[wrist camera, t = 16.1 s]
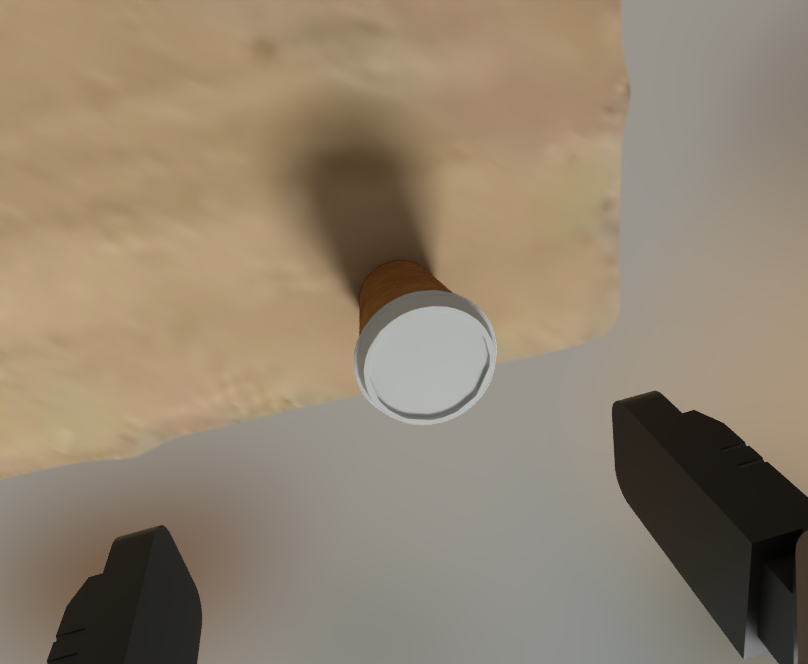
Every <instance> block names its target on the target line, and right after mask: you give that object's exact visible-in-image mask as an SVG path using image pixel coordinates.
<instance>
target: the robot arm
mask: <svg viewBox="0 0 808 664" xmlns="http://www.w3.org/2000/svg"><path fill="white" fill-rule="evenodd" d="M612 422H613V440H614V458H615V471H616V476H617V480H618V483H619V486H620V489H621V491H622V494H623V496H624V497H625V499H626V501H627V503H628V504H629V505H630V507H631V508H632V510H633V511H634V512H635V514H636V515H637V516H638V518H639V519H640V520H641V522H642V523H643V524H644V526H645V527H646V528H647V530H648V531H649V532H650V534H651V535H652V537H653V538H654V539H655V541H656V542H657V543H658V545H659V546H660V547H661V549H662V550H663V551H664V553H665V554H666V555H667V557H668V558H669V559H670V561H671V562H672V563H673V565H674V566H675V568H676V569H677V570H678V572H679V573H680V574H681V576H682V577H683V578H684V580H685V581H686V582H687V584H688V585H689V586H690V588H691V589H692V591H693V592H694V593H695V595H696V596H697V597H698V599H699V600H700V601H701V603H702V604H703V605H704V607H705V608H706V609H707V611H708V612H709V613H710V615H711V616H712V617H713V619H714V620H715V621H716V623H717V624H718V626H719V627H720V628H721V630H722V631H723V632H724V634H725V635H726V636H727V638H728V639H729V640H730V642H731V643H732V644H733V646H734V647H735V649H736V650H737V651H738V652H739V654H740V655H741V657H742V658H743V659H747V658H750V657H753V656H756V655H760V654H763V653H766V652H770V653H771V654H772V655H773V657H774V658H775V659H776V660H777V662H778V663H779V664H808V497H807V496H806V495H805V494H803V493H802V492H801V491H800V490H799V489H798V488H797V487H795V486H794V485H793V484H792V483H791V482H790V481H789V480H788V479H786V478H785V477H784V476H783V475H782V474H781V473H780V472H778V471H777V470H776V469H775V468H774V467H773V466H771V465H770V464H769V463H768V462H764V461H763V458H762V457H761V456H760V455H759V454H758V453H757V452H756V451H755V450H754V449H752V448H751V447H750V446H746V444H745V442H744V441H743V440H742V439H741V438H740V437H739V436H737V435H736V434H735V433H734V432H733V431H732V430H731V429H730V428H728V427H727V426H726V425H725V424H724V423H722V422H720V421H718V420H715V419H713V418H711V417H709V416H706V415H704V414H702V413H700V412H698V411H695V410H692V411H689V412H685V413H681V412H680V411H679V410H678V409H677V408H676V407H675V406H674V405H673V404H672V403H671V402H670V401H669V400H668V399H667V398H666V397H664V396H663V395H662V394H661V393H660V392H658V391H652V392H648V393H645V394H641V395H637V396H634V397H630V398H626V399H623V400H619V401H616V402H615V403H614V404H613V407H612ZM201 628H202V609H201V603H200V597H199V594H198V590H197V588H196V585H195V583H194V581H193V579H192V577H191V575H190V573H189V571H188V569H187V567H186V565H185V563H184V561H183V559H182V556H181V554H180V552H179V550H178V548H177V546H176V544H175V542H174V540H173V538H172V536H171V534H170V532H169V531H168V530H167V528H166V527H165V526H163V525H160V526H156V527H153V528H149V529H146V530H142V531H138V532H134V533H131V534H127V535H124V536H120V537H117V538H116V539H115V540H114V542H113V544H112V547H111V550H110V553H109V556H108V559H107V562H106V565H105V569H104V572H103V574H99V575H95V576H92V577H89V578H88V579H87V580H86V582H85V583H84V584H83V586H82V587H81V588H80V589H79V591H78V592H77V593H76V595H75V596H74V597H73V599H72V600H71V601H70V603H69V604H68V605H67V607H66V610H65V612H64V615H63V618H62V621H61V624H60V626H59V629H58V632H57V635H56V638H57V641H56V642H54V643H53V645H52V649H51V651H50V654H49V656H48V659H47V663H48V664H197V660H198V652H199V643H200V636H201Z"/></svg>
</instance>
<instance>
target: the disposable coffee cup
mask: <svg viewBox="0 0 808 664" xmlns="http://www.w3.org/2000/svg"><path fill="white" fill-rule="evenodd" d="M359 329H360V331H359V339H358V341H357V344H356V348H355V353H354V372H355V376H356V380H357V383H358V385H359V387H360V390H361V392H362V393H363V394H364V396H365V397H366V398H367V400H368V401H369V402H370V403H371V404H372V405H374V406H375V407H376V408H377V409H379V410H380V411H382V412H384V413H385V414H387V415H388V416H390V417H391V418H393V419H396V420H399V421H401V422H404V423H407V424H417V425H429V424H435V423H441V422H445V421H448V420H450V419H452V418H455V417H457V416H459V415H461V414H462V413H464V412H465V411H467V410H468V409H470V408H471V407H472V406H473V405H474V404H475V403H476V402H477V400H479V399H480V398H481V396H482V395H483V394H484V392H485V391H486V389H487V387H488V386H489V384H490V381H491V379H492V376H493V373H494V368H495V362H496V356H497V344H496V337H495V333H494V330H493V328H492V326H491V323H490V322H489V320H488V319H487V317H486V316H485V314H484V313H483V311H482V310H481V309H480V308H479V307H477V306H476V305H475V304H473V303H472V302H471V301H469V300H468V299H466V298H464V297H461V296H459V295H457V294H455V293H452V292H451V291H450V290H449V289H447V288H446V287H445V286H444V285H443V284H442V283H441V282H439V281H438V280H437V279H436V278H435V277H434V276H432V275H431V274H430V273H429V272H428V271H427V270H426V269H424V268H423V267H421V266H420V265H418V264H415V263H412V262H409V261H393V262H389V263H386V264H384V265H382V266H380V267H378V268H377V269H376V270H374V271H373V272H372V273H371V274H370V275H369V276H368V277H367V279H366V281H365V282H364V284H363V286H362V289H361V293H360V327H359Z"/></svg>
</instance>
